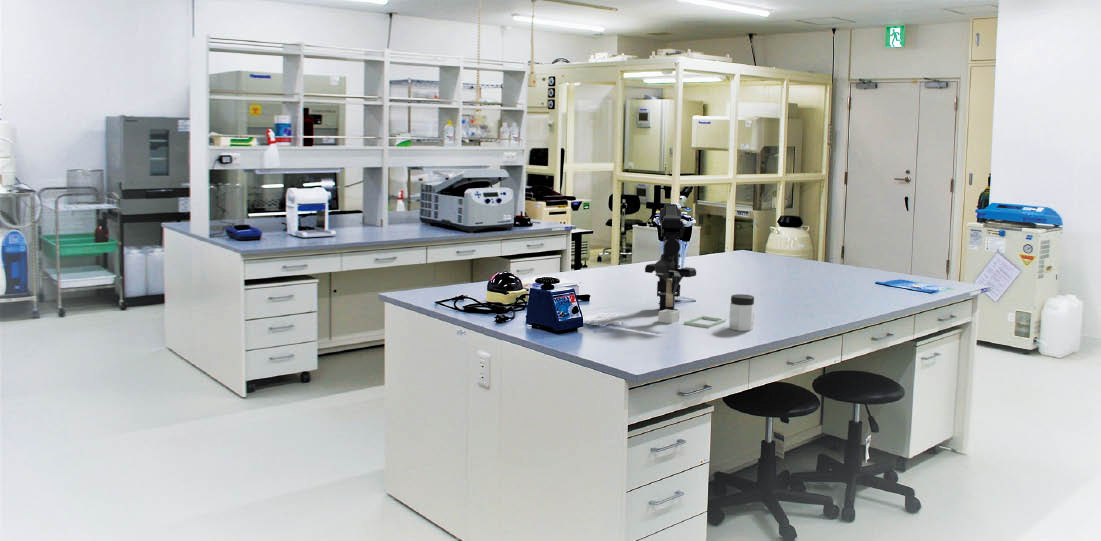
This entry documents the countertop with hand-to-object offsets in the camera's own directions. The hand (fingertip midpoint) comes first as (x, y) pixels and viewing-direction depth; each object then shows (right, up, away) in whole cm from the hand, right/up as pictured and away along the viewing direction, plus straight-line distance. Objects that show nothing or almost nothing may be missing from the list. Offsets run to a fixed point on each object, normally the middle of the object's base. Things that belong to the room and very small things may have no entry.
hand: (669, 293), depth 330 cm
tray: (+13, -12, 0) cm, 18 cm away
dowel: (0, -5, +1) cm, 5 cm away
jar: (+25, -13, -6) cm, 29 cm away
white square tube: (0, -11, +2) cm, 11 cm away
